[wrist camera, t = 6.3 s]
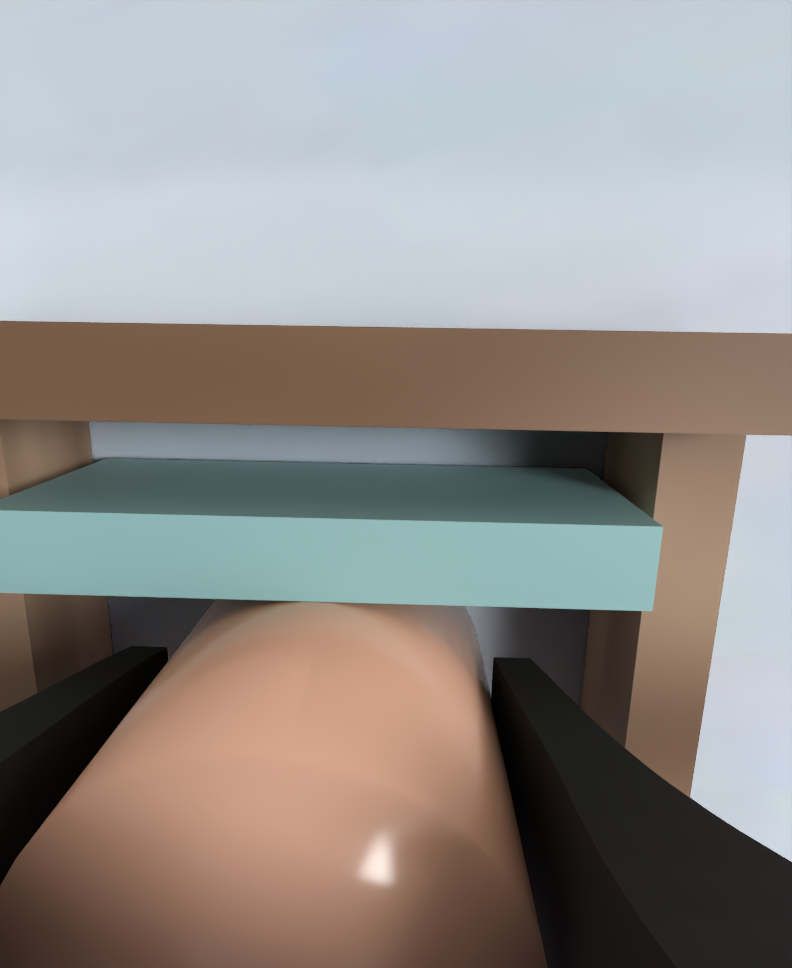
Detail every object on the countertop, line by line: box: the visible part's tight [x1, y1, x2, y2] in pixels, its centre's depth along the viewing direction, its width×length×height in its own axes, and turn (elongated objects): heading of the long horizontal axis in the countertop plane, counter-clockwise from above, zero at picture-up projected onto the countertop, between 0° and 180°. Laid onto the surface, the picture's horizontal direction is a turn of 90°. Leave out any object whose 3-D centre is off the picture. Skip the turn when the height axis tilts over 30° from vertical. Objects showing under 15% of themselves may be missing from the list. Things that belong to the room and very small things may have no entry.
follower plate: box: [0, 458, 663, 611], centre depth 10 cm, size 1×9×4 cm, turn 89°
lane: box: [0, 321, 792, 797], centre depth 11 cm, size 13×12×4 cm
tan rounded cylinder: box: [0, 599, 548, 968], centre depth 9 cm, size 6×6×6 cm
